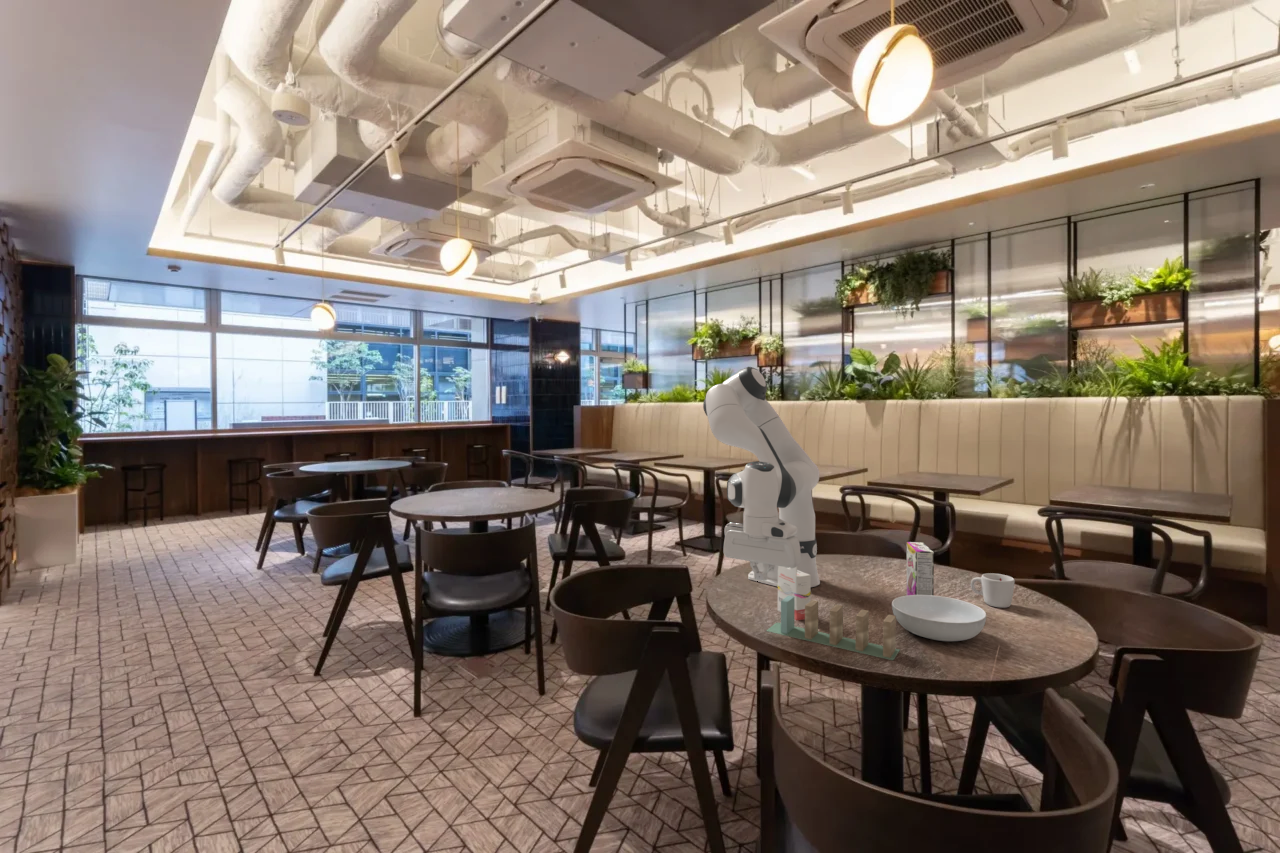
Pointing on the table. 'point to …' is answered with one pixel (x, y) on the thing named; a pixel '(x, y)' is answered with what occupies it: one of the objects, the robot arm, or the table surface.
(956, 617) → the serving bowl
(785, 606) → the domino
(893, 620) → the domino
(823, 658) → the table surface
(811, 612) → the domino
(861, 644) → the domino
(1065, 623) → the table surface
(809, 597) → the ink cartridge box
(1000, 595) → the cup
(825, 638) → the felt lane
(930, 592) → the candy bar box
